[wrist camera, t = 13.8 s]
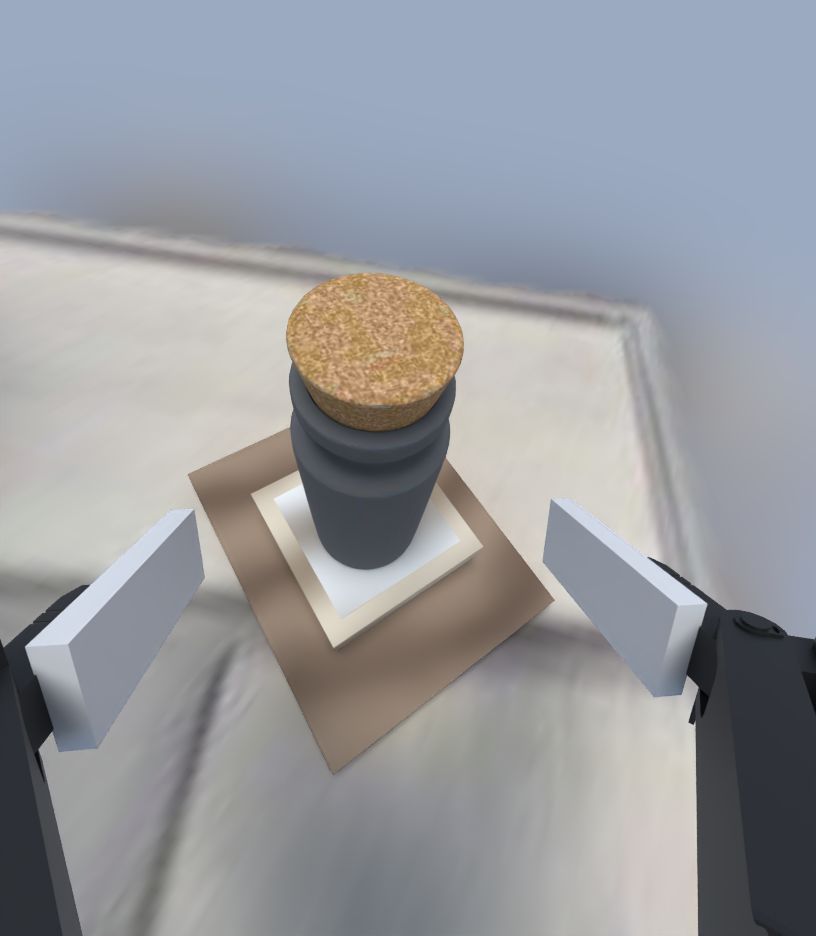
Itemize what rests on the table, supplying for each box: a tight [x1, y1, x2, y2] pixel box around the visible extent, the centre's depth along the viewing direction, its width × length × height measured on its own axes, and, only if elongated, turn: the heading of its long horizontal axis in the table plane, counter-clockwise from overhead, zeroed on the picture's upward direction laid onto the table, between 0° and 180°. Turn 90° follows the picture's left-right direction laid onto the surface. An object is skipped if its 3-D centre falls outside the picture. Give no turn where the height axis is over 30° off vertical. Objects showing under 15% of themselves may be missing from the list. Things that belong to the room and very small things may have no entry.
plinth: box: [188, 428, 555, 775], centre depth 26 cm, size 20×16×5 cm
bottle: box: [286, 273, 464, 570], centre depth 17 cm, size 6×6×15 cm
